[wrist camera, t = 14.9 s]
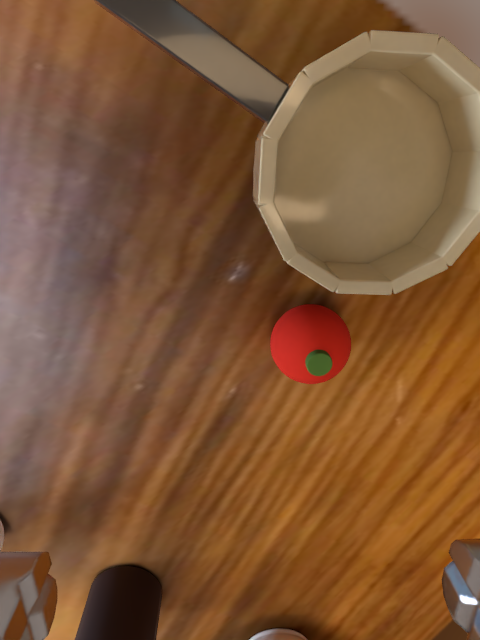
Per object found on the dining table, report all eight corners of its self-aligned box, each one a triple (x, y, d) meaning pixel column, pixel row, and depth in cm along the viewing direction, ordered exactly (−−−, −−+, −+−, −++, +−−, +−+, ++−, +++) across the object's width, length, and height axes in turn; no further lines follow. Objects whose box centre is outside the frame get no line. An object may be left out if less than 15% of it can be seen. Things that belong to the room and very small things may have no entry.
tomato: (268, 293, 30) (278, 323, 24) (343, 294, 30) (369, 324, 25) (265, 360, 32) (273, 402, 26) (335, 361, 32) (357, 402, 27)
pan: (412, 143, 27) (559, 135, 15) (327, 261, 29) (396, 333, 18) (193, -26, 23) (162, -211, 11) (119, 126, 26) (33, 103, 14)
